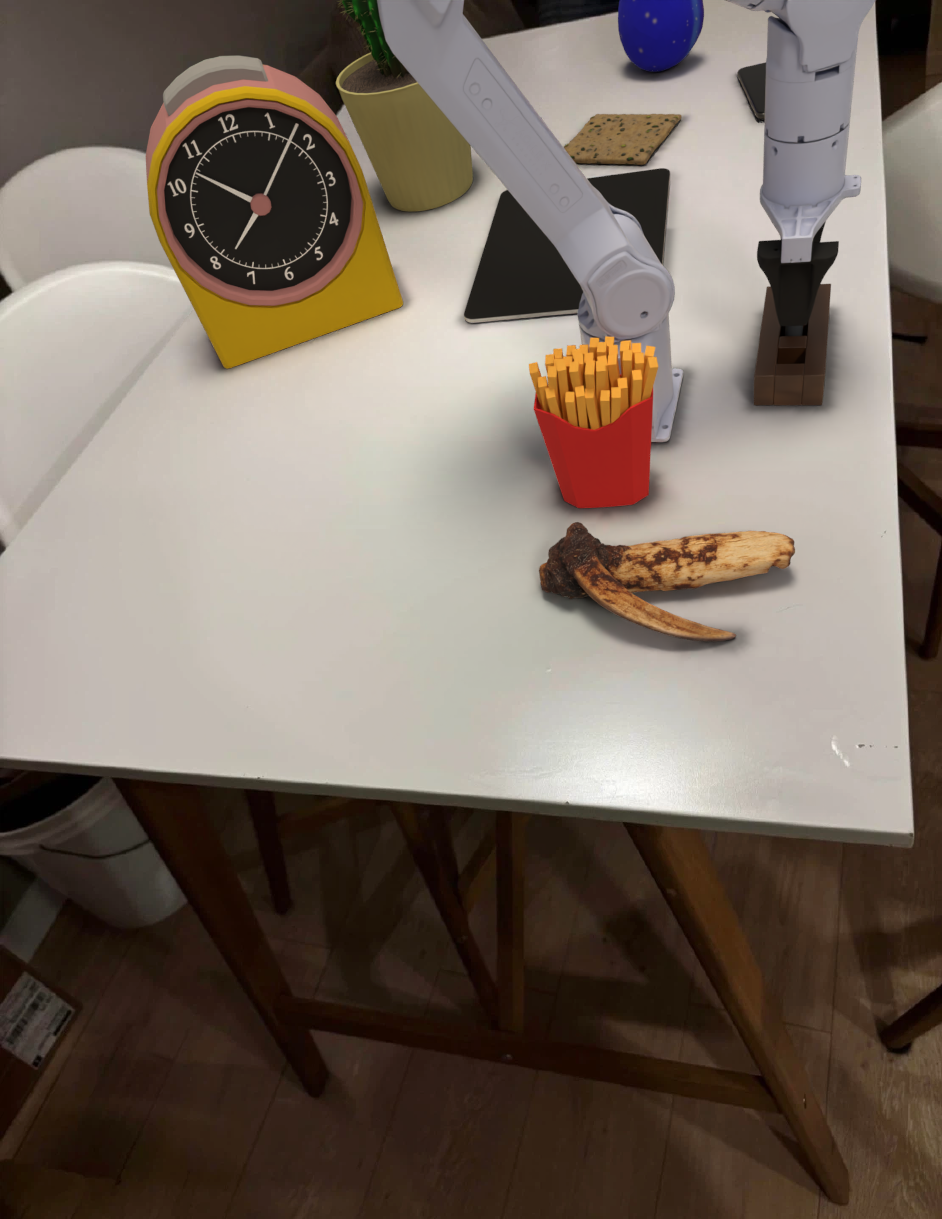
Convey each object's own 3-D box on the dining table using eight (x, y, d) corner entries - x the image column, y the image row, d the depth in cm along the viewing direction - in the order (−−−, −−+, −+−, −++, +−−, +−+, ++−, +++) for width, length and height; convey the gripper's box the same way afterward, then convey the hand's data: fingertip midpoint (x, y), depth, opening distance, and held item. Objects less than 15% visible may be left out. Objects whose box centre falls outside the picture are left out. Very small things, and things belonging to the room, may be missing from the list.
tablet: (502, 189, 108) (670, 166, 102) (503, 194, 109) (670, 172, 103) (462, 319, 92) (659, 301, 86) (463, 325, 92) (659, 307, 87)
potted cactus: (509, 159, 115) (456, -132, 92) (455, 222, 107) (382, -79, 85) (409, 159, 122) (337, -112, 99) (351, 218, 114) (259, -61, 92)
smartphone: (735, 75, 116) (756, 122, 106) (735, 68, 115) (757, 114, 105) (795, 61, 114) (822, 108, 105) (795, 54, 114) (822, 100, 104)
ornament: (714, 55, 121) (712, -77, 110) (675, 85, 118) (669, -48, 107) (646, 51, 127) (638, -75, 116) (608, 79, 124) (595, -48, 113)
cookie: (683, 117, 111) (683, 109, 110) (645, 165, 105) (645, 157, 105) (596, 117, 117) (595, 109, 116) (555, 162, 111) (554, 155, 110)
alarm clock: (223, 370, 97) (95, 119, 77) (217, 329, 103) (97, 87, 84) (404, 305, 97) (322, 39, 78) (388, 268, 103) (307, 13, 84)
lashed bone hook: (539, 659, 63) (806, 641, 59) (526, 620, 60) (810, 597, 55) (544, 559, 69) (788, 535, 65) (532, 518, 65) (790, 490, 61)
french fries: (551, 511, 72) (524, 379, 62) (555, 475, 75) (529, 343, 65) (667, 503, 70) (657, 365, 60) (667, 466, 72) (657, 328, 63)
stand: (828, 313, 80) (831, 283, 78) (822, 405, 73) (825, 375, 71) (765, 315, 82) (766, 286, 80) (753, 405, 75) (754, 376, 73)
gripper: (866, 169, 57) (846, 347, 68) (869, 73, 66) (851, 244, 76) (752, 179, 60) (749, 350, 70) (769, 85, 68) (764, 250, 78)
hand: (796, 295), depth 73 cm, fingers open, 7 cm apart
